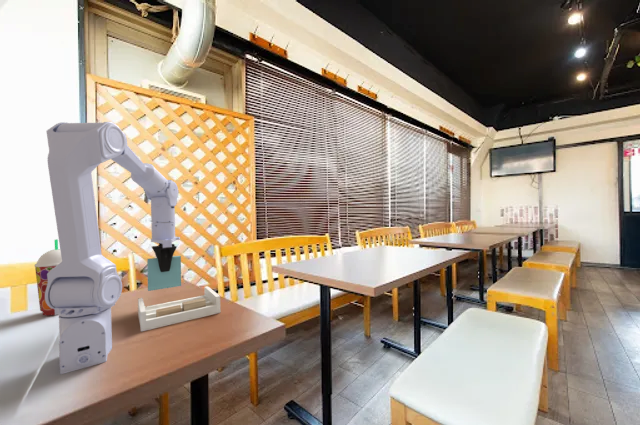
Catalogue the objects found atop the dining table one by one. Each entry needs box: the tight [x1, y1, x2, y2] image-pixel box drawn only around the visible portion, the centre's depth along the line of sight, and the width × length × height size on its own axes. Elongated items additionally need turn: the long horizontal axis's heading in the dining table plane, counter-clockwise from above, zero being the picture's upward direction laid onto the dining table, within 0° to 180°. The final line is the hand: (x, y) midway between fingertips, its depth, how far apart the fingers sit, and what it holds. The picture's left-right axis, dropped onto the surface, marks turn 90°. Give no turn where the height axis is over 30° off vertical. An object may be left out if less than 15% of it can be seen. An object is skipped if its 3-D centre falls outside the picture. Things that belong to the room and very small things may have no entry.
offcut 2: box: [182, 298, 206, 311], centre depth 67 cm, size 2×5×4 cm, turn 127°
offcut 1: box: [156, 305, 181, 317], centre depth 64 cm, size 2×5×3 cm, turn 127°
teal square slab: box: [146, 255, 182, 292], centre depth 75 cm, size 2×8×8 cm, turn 127°
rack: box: [137, 286, 221, 332], centre depth 68 cm, size 12×17×5 cm
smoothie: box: [34, 238, 62, 317], centre depth 74 cm, size 8×8×20 cm
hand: (164, 270), depth 75 cm, fingers closed on teal square slab, 2 cm apart
